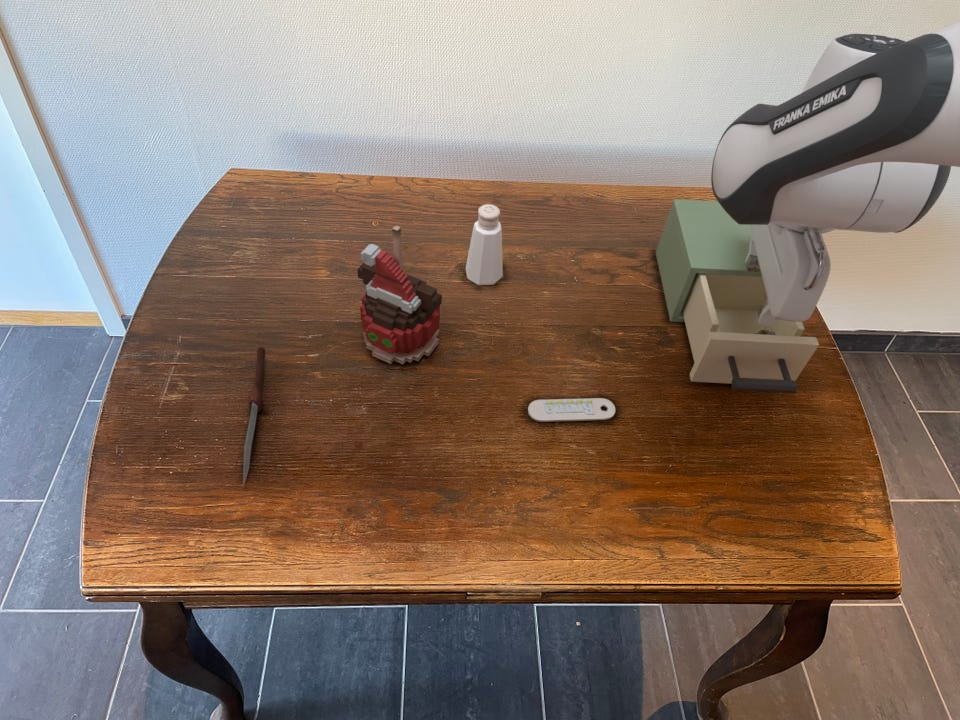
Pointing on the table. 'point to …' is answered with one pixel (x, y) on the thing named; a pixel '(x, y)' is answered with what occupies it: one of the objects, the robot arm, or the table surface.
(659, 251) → the cabinet
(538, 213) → the table surface
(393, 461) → the table surface
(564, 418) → the keychain
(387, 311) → the christmas cupcake
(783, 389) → the drawer
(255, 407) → the knife
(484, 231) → the salt shaker
